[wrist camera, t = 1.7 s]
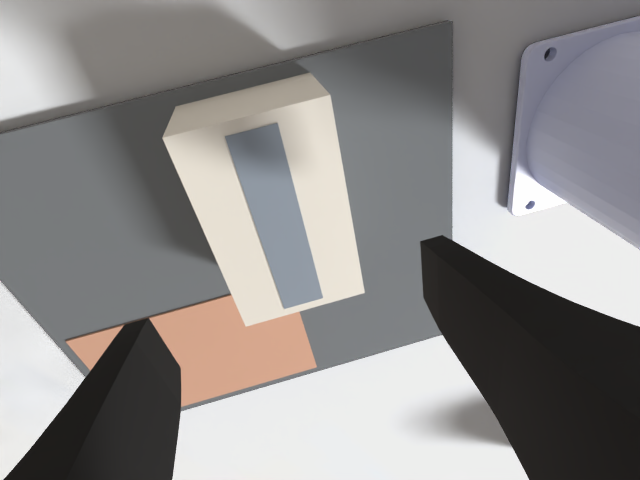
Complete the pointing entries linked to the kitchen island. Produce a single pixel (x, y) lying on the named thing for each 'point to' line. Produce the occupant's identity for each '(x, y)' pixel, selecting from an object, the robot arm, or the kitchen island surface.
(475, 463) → the kitchen island surface
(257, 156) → the card deck
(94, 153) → the mat
